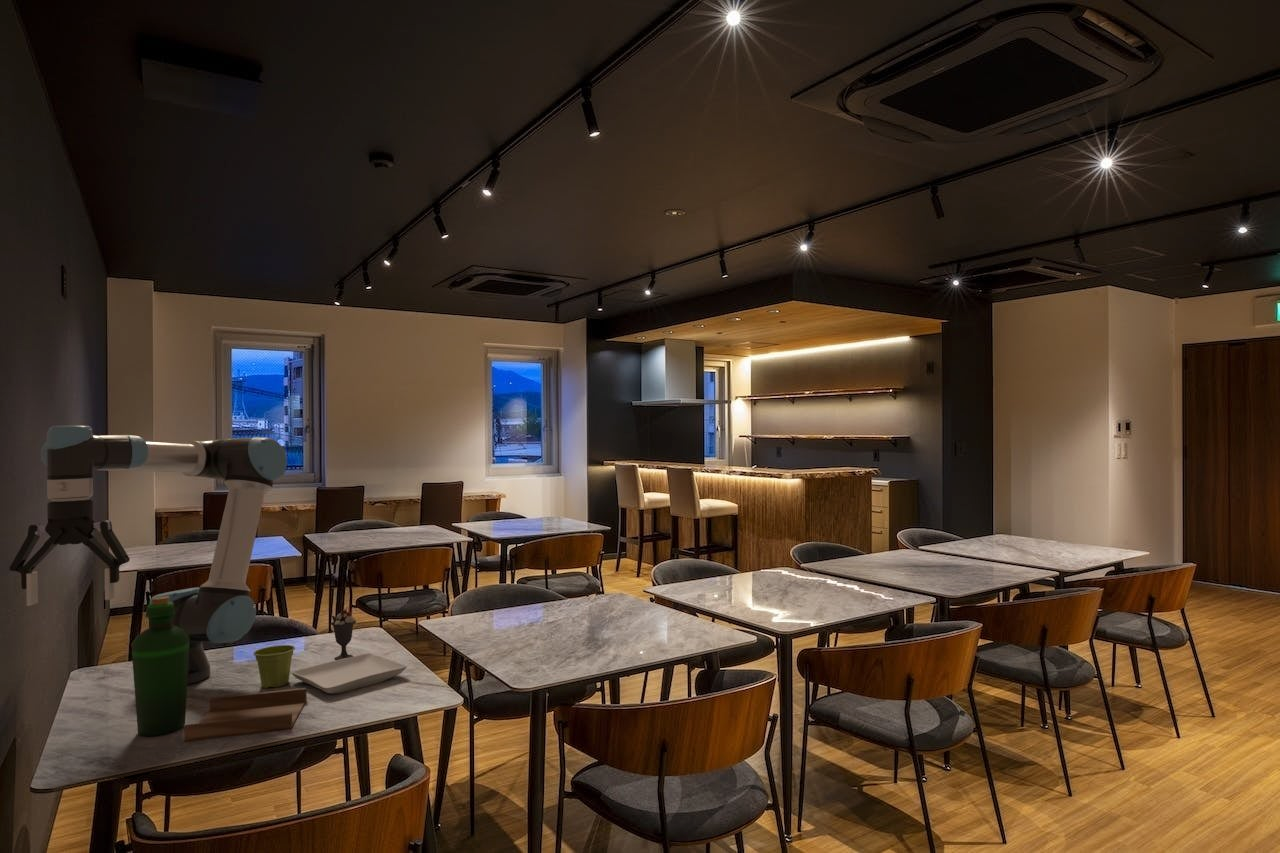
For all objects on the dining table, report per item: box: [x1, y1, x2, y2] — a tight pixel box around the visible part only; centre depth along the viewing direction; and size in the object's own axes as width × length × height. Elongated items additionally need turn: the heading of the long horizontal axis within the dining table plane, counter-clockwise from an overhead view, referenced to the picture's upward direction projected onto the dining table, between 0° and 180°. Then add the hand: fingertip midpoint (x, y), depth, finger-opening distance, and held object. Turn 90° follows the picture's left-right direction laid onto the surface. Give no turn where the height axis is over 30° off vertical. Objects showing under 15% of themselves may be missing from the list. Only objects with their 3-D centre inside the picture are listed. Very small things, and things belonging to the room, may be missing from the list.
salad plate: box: [291, 652, 407, 694], centre depth 185 cm, size 21×21×3 cm
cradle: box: [183, 687, 308, 742], centre depth 159 cm, size 18×20×3 cm
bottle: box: [130, 596, 190, 737], centre depth 155 cm, size 11×11×28 cm
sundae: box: [329, 603, 357, 661], centre depth 205 cm, size 7×7×15 cm
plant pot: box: [253, 644, 296, 688], centre depth 183 cm, size 9×9×9 cm
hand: (71, 601), depth 151 cm, fingers open, 13 cm apart
